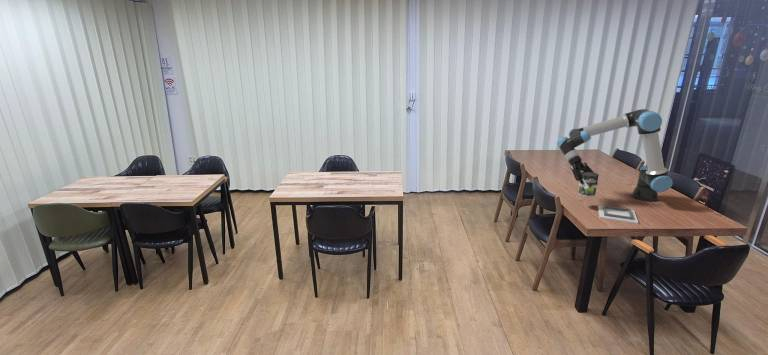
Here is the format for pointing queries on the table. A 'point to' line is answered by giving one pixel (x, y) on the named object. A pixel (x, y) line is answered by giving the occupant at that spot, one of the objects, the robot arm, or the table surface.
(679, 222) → the table surface
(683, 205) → the table surface
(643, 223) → the table surface
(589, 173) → the coffee can
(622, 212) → the base board
